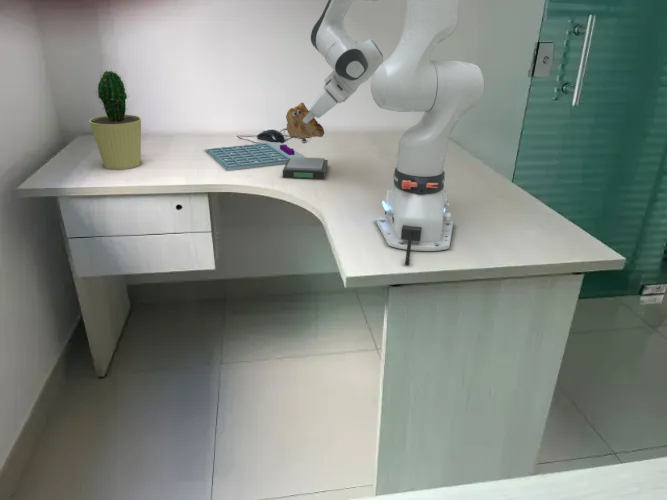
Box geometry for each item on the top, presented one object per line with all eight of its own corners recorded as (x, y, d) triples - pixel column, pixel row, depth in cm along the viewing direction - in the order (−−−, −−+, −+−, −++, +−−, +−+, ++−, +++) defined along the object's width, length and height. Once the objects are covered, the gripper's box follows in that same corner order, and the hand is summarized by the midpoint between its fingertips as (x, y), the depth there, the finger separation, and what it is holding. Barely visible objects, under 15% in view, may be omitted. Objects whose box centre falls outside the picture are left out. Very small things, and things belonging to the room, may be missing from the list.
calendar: (205, 150, 191) (204, 144, 190) (278, 143, 203) (278, 136, 202) (227, 171, 169) (226, 163, 168) (307, 161, 181) (307, 154, 180)
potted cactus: (94, 161, 175) (78, 66, 163) (142, 156, 182) (130, 65, 169) (99, 173, 163) (81, 72, 150) (150, 168, 170) (137, 71, 157)
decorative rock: (291, 139, 158) (288, 102, 156) (284, 139, 163) (280, 104, 161) (326, 136, 163) (324, 101, 161) (318, 136, 169) (315, 102, 166)
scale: (324, 179, 163) (324, 169, 161) (282, 178, 163) (282, 168, 162) (327, 166, 176) (327, 157, 174) (289, 165, 176) (289, 155, 175)
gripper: (333, 74, 166) (302, 105, 171) (328, 84, 148) (294, 118, 152) (346, 89, 168) (316, 119, 172) (343, 100, 149) (309, 133, 154)
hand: (305, 118), depth 162 cm, fingers closed on decorative rock, 7 cm apart
